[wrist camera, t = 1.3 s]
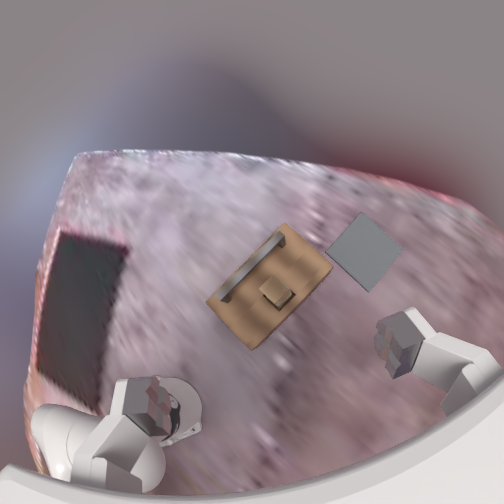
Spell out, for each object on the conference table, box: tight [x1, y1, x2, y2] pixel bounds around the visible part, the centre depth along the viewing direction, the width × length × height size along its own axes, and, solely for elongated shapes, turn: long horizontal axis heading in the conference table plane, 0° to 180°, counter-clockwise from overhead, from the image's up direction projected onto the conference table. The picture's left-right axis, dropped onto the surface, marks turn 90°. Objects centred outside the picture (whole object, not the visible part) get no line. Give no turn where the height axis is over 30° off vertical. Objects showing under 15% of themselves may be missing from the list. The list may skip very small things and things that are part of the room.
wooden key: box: [259, 273, 292, 309], centre depth 52 cm, size 4×4×15 cm
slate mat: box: [326, 212, 403, 292], centre depth 62 cm, size 14×14×1 cm
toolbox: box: [206, 223, 333, 350], centre depth 57 cm, size 24×14×14 cm, turn 135°
